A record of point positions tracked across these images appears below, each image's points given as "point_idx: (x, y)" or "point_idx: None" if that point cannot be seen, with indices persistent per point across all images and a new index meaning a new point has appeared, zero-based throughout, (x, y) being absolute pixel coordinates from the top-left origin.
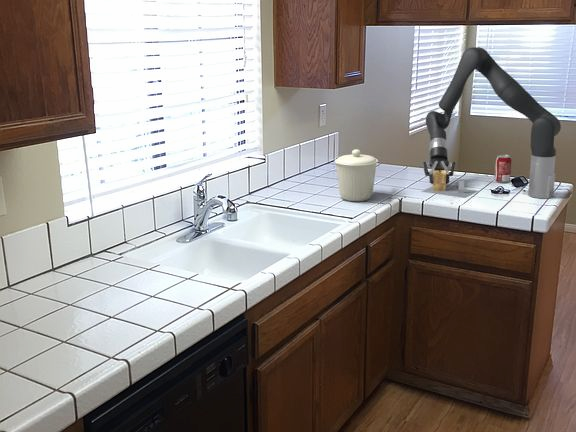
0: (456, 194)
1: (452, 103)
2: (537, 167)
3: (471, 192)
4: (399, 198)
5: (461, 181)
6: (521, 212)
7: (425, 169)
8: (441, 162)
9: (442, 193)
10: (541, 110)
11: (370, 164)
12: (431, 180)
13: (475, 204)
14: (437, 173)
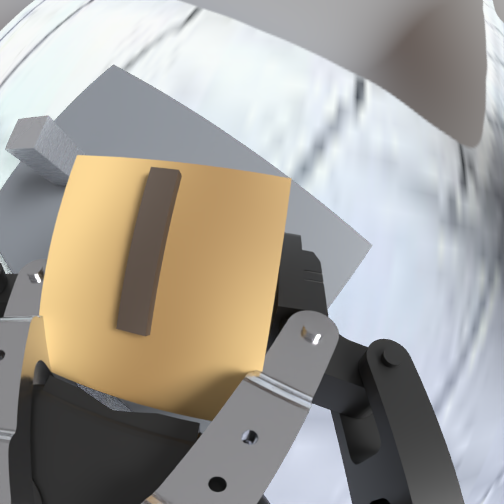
0: (120, 128)
1: None
2: None
3: (22, 180)
4: (472, 187)
5: (30, 123)
6: (43, 12)
7: (422, 403)
8: (2, 488)
9: (208, 158)
10: None
11: None
12: (300, 249)
13: (103, 46)
14: (224, 173)
